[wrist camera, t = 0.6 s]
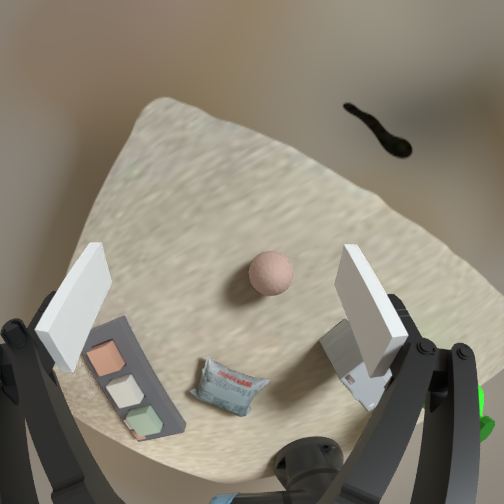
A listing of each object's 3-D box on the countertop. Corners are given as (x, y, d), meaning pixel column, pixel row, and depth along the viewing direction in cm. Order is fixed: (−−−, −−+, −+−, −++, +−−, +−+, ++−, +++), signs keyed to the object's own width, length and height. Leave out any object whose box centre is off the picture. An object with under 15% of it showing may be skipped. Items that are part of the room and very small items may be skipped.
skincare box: (367, 346, 50) (408, 383, 34) (338, 370, 50) (369, 416, 35) (344, 315, 50) (382, 346, 34) (313, 341, 50) (340, 382, 34)
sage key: (164, 420, 48) (159, 432, 44) (144, 425, 48) (139, 436, 44) (151, 401, 48) (146, 412, 44) (132, 406, 48) (125, 417, 44)
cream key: (146, 392, 48) (139, 403, 44) (126, 398, 48) (119, 408, 44) (133, 371, 47) (126, 381, 43) (113, 377, 47) (105, 386, 43)
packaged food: (208, 350, 49) (205, 362, 44) (269, 375, 50) (272, 389, 45) (190, 386, 50) (186, 400, 45) (248, 409, 51) (249, 424, 46)
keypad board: (186, 423, 50) (183, 432, 47) (142, 433, 50) (137, 442, 47) (124, 315, 48) (117, 320, 45) (81, 333, 48) (73, 338, 45)
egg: (296, 273, 49) (308, 283, 40) (263, 297, 49) (268, 311, 40) (272, 241, 48) (280, 243, 39) (239, 265, 48) (239, 272, 39)
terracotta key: (127, 361, 47) (119, 370, 43) (108, 367, 47) (99, 376, 43) (115, 337, 47) (106, 345, 43) (95, 345, 47) (86, 352, 43)
